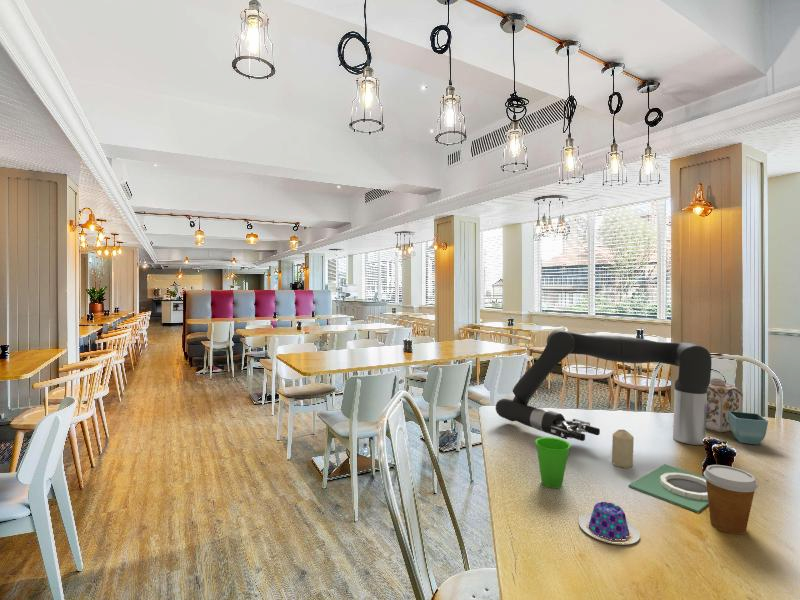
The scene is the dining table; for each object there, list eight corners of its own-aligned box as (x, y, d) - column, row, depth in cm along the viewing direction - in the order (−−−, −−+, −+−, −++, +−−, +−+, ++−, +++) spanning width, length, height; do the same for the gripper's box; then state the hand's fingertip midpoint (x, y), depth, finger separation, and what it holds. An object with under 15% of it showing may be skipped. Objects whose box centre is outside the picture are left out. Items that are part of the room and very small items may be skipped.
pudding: (609, 553, 86) (610, 527, 86) (566, 521, 97) (567, 499, 97) (653, 541, 90) (654, 516, 90) (607, 512, 102) (608, 490, 101)
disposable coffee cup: (759, 544, 89) (761, 487, 89) (703, 529, 94) (705, 476, 94) (751, 522, 97) (754, 470, 97) (700, 510, 102) (702, 460, 102)
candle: (635, 468, 125) (636, 434, 124) (614, 467, 126) (615, 433, 125) (629, 461, 130) (630, 428, 130) (609, 459, 131) (610, 427, 131)
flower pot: (735, 444, 144) (736, 417, 144) (726, 435, 153) (727, 410, 152) (767, 448, 141) (769, 421, 141) (757, 439, 149) (758, 413, 149)
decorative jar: (742, 429, 159) (744, 381, 158) (721, 433, 155) (723, 383, 154) (709, 420, 170) (711, 374, 169) (688, 423, 166) (690, 376, 165)
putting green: (664, 465, 127) (664, 460, 127) (731, 487, 114) (731, 480, 114) (628, 486, 114) (628, 480, 114) (699, 513, 101) (699, 506, 101)
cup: (569, 478, 118) (570, 439, 118) (570, 494, 109) (571, 451, 109) (534, 473, 121) (535, 435, 120) (533, 488, 112) (534, 446, 112)
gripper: (534, 414, 144) (579, 427, 131) (559, 407, 153) (604, 418, 140) (534, 436, 144) (579, 451, 131) (558, 428, 153) (603, 441, 140)
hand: (591, 434), depth 135 cm, fingers open, 8 cm apart
